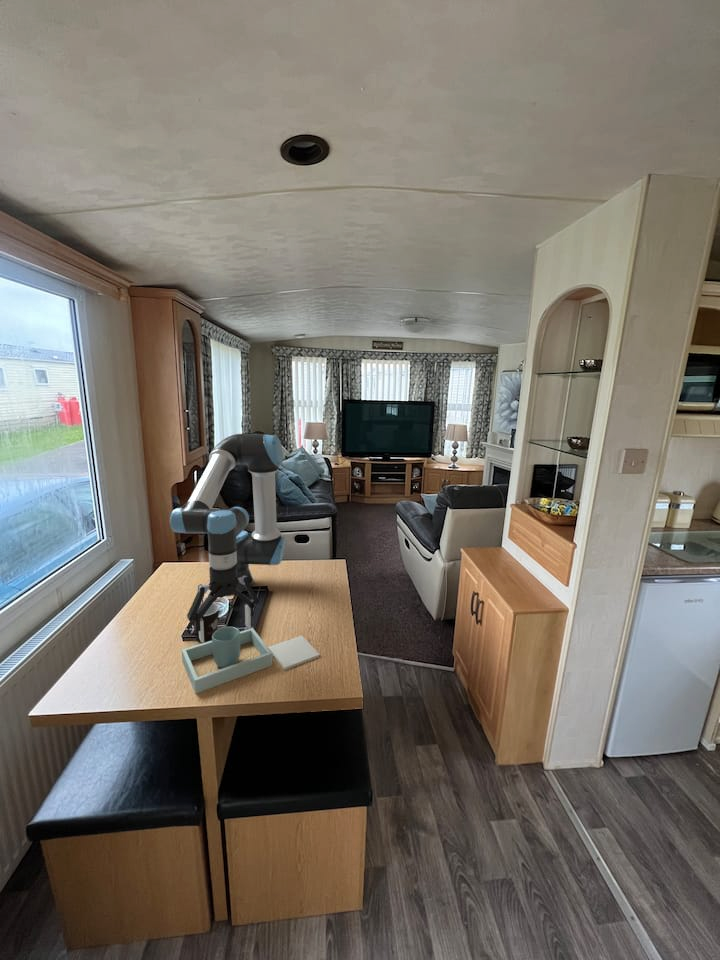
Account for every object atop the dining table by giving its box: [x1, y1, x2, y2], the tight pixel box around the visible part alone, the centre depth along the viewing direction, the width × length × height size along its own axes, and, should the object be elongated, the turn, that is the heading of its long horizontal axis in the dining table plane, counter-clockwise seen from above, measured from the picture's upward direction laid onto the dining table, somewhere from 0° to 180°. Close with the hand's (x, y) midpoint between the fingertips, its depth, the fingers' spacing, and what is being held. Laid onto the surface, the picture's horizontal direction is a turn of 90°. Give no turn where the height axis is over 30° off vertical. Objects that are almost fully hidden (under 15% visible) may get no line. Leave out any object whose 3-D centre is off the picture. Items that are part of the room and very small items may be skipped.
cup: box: [212, 626, 241, 669], centre depth 121 cm, size 8×8×10 cm
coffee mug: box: [187, 602, 220, 643], centre depth 133 cm, size 12×9×10 cm
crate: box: [181, 627, 273, 695], centre depth 122 cm, size 16×22×4 cm
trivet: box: [267, 635, 321, 671], centre depth 128 cm, size 12×12×1 cm
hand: (225, 633), depth 120 cm, fingers open, 13 cm apart
